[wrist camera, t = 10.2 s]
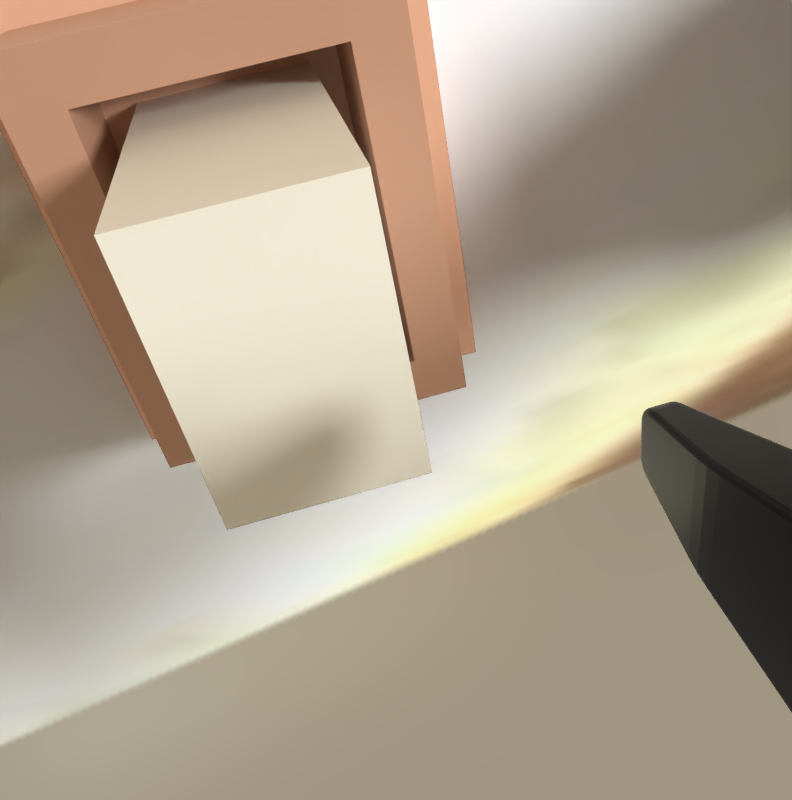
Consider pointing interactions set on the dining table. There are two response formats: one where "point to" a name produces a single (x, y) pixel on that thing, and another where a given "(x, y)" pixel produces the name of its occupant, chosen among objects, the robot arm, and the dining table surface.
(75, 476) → the dining table surface
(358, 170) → the plug
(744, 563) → the robot arm
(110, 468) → the dining table surface
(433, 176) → the dock
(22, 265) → the dining table surface
